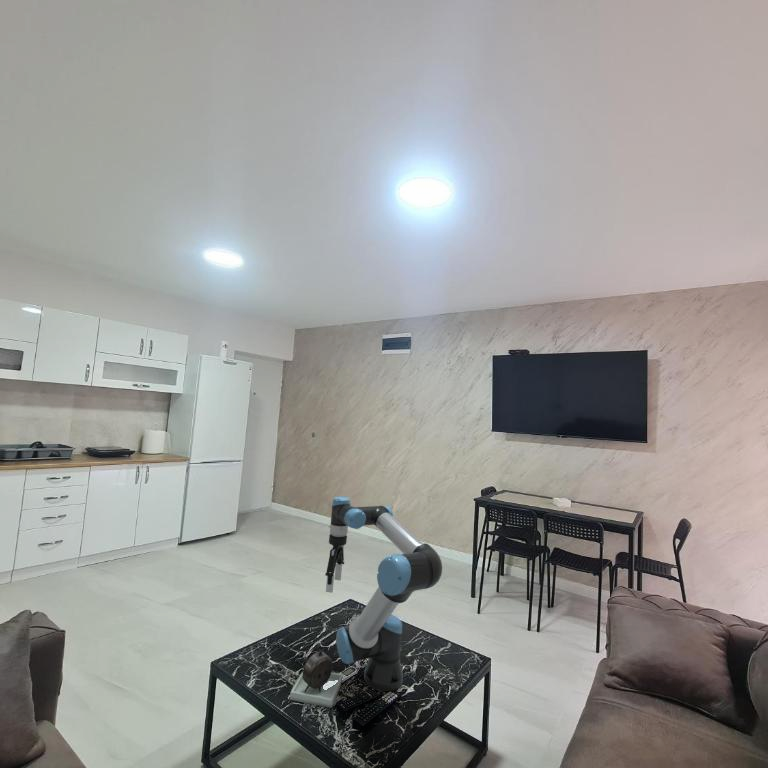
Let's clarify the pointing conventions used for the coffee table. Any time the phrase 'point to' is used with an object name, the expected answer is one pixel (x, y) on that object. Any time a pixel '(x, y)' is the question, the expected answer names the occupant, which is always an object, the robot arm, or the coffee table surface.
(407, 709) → the coffee table surface
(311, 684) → the alarm clock
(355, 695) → the coffee table surface
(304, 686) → the tray
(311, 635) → the coffee table surface
